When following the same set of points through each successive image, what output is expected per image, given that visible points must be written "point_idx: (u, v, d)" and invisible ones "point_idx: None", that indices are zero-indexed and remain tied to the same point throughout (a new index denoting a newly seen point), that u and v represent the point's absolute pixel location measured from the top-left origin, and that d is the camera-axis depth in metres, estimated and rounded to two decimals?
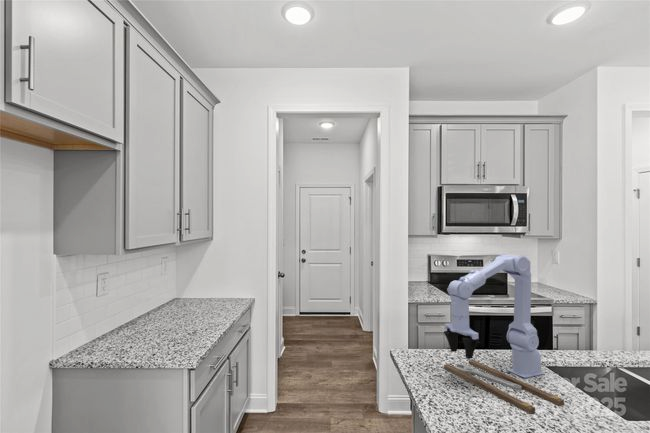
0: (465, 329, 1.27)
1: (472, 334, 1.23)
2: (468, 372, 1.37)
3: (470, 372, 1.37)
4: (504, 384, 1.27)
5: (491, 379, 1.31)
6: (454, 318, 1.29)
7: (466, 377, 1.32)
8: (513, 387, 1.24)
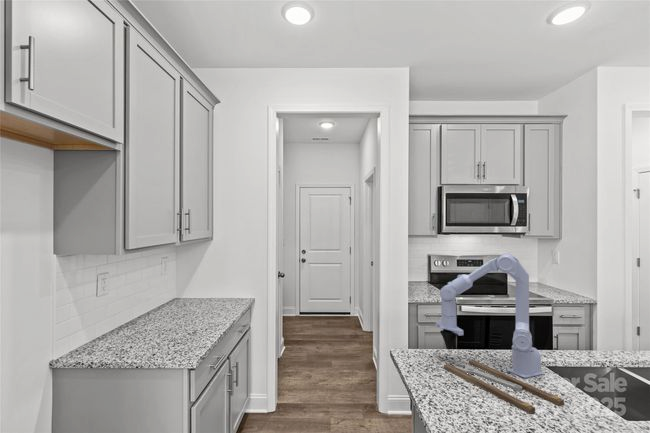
0: (452, 327, 1.48)
1: (458, 331, 1.44)
2: (469, 372, 1.37)
3: (471, 372, 1.37)
4: (505, 384, 1.26)
5: (492, 379, 1.30)
6: (443, 317, 1.50)
7: (466, 377, 1.32)
8: (514, 388, 1.24)
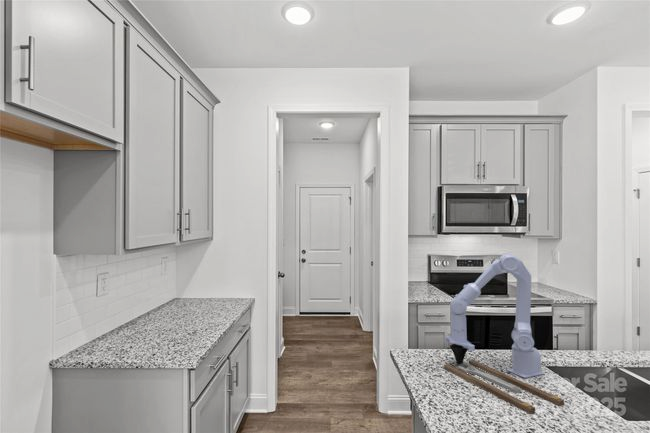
0: (463, 341, 1.42)
1: (469, 346, 1.39)
2: (470, 372, 1.37)
3: (472, 372, 1.37)
4: (503, 385, 1.25)
5: (491, 380, 1.30)
6: (453, 331, 1.44)
7: (466, 377, 1.32)
8: (511, 389, 1.22)
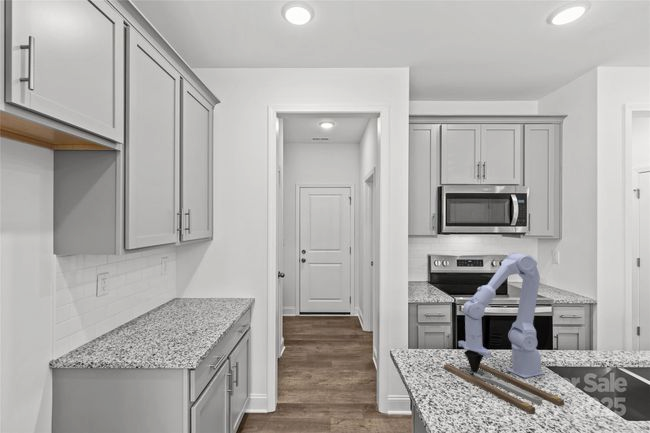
0: (478, 347, 1.35)
1: (485, 353, 1.31)
2: (487, 380, 1.30)
3: (489, 380, 1.29)
4: (523, 395, 1.18)
5: (510, 389, 1.22)
6: (468, 337, 1.37)
7: (466, 377, 1.32)
8: (532, 399, 1.15)
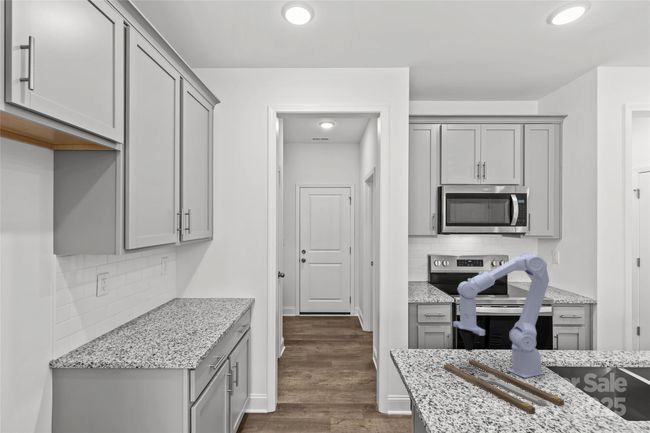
0: (472, 326, 1.38)
1: (479, 331, 1.34)
2: (491, 382, 1.28)
3: (493, 382, 1.28)
4: (527, 398, 1.16)
5: (514, 391, 1.21)
6: (462, 316, 1.39)
7: (466, 377, 1.32)
8: (537, 402, 1.13)
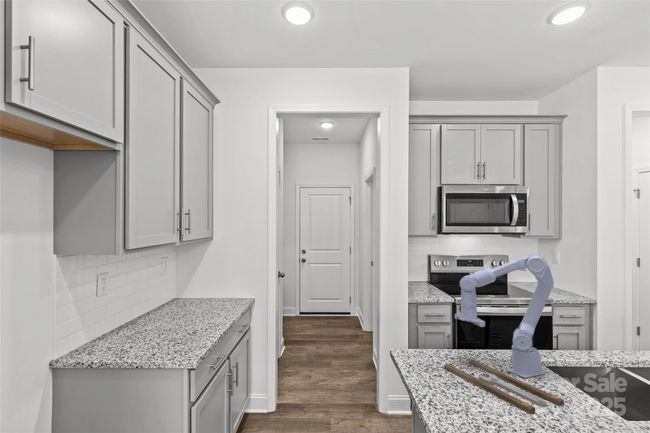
0: (473, 318, 1.44)
1: (479, 322, 1.40)
2: (492, 382, 1.28)
3: (494, 382, 1.28)
4: (528, 399, 1.16)
5: (515, 392, 1.20)
6: (463, 308, 1.46)
7: (466, 377, 1.32)
8: (537, 403, 1.13)
